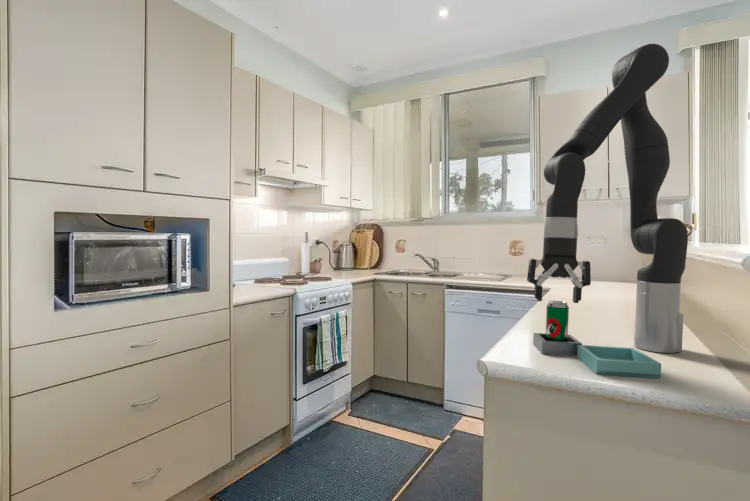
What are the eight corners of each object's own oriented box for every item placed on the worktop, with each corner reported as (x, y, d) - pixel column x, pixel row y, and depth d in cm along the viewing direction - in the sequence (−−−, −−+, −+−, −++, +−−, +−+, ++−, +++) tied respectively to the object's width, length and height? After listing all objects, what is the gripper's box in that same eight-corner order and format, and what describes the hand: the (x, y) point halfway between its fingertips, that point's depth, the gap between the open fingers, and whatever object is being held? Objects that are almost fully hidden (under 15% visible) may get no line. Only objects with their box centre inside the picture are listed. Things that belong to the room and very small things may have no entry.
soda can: (569, 353, 99) (571, 304, 99) (547, 351, 100) (549, 303, 100) (564, 348, 104) (566, 301, 104) (543, 346, 105) (544, 300, 105)
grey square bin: (569, 346, 106) (570, 334, 106) (581, 356, 97) (582, 343, 97) (533, 344, 107) (533, 332, 107) (541, 353, 99) (542, 341, 98)
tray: (632, 360, 94) (633, 347, 94) (660, 378, 82) (661, 363, 82) (577, 357, 96) (577, 344, 96) (596, 374, 84) (597, 359, 84)
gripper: (585, 237, 104) (582, 301, 104) (526, 235, 106) (524, 298, 107) (597, 237, 97) (593, 305, 97) (533, 235, 99) (530, 302, 99)
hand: (557, 301), depth 102 cm, fingers open, 8 cm apart
